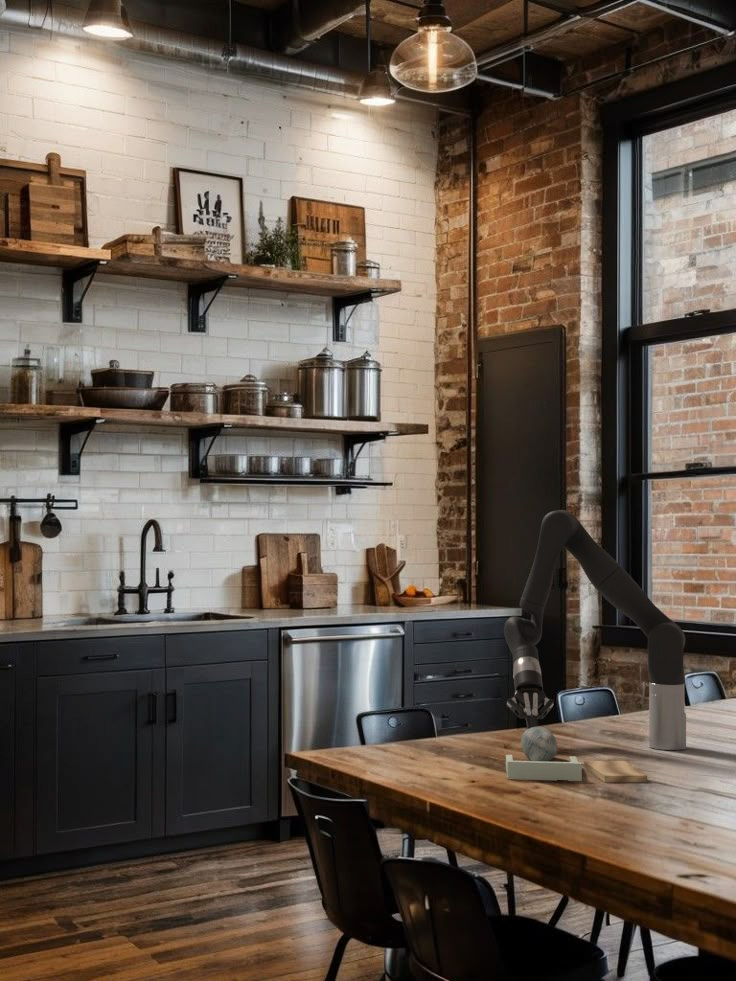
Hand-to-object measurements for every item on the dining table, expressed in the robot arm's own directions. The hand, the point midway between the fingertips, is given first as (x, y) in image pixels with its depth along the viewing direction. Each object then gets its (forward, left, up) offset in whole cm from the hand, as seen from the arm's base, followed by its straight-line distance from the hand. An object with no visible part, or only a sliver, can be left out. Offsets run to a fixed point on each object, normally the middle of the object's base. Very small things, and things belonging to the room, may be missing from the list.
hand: (533, 730), depth 316 cm
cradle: (-1, +27, -6) cm, 28 cm away
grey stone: (-1, +12, -6) cm, 13 cm away
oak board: (-18, +28, -6) cm, 34 cm away
